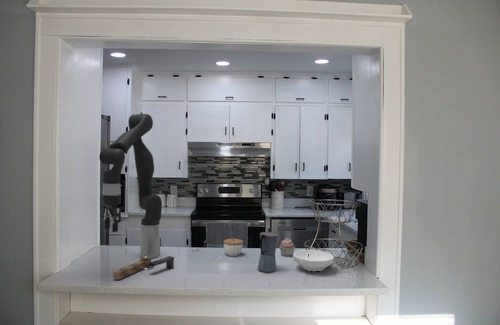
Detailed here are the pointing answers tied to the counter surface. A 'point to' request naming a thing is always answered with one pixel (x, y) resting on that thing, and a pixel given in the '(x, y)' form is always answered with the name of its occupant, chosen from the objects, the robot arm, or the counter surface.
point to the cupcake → (287, 247)
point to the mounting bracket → (198, 249)
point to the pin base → (147, 259)
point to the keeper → (167, 260)
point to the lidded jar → (233, 246)
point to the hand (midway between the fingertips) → (111, 230)
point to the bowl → (313, 259)
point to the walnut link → (131, 269)
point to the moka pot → (268, 251)
